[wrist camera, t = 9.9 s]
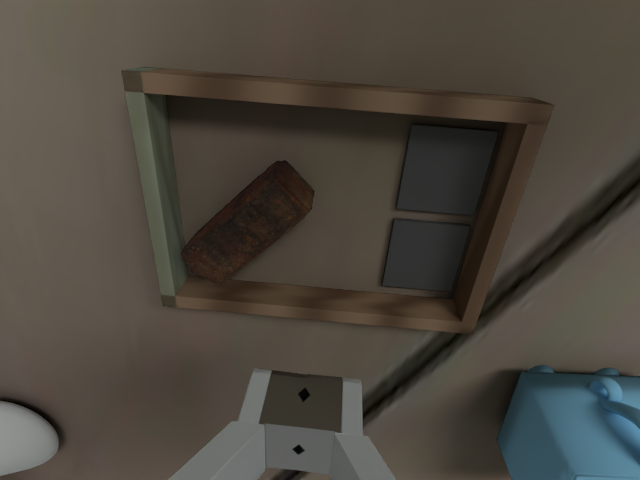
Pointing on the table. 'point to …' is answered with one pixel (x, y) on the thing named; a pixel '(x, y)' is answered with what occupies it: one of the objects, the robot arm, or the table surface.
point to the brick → (249, 223)
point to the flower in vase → (24, 439)
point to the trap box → (518, 112)
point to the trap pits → (436, 204)
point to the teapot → (572, 426)
